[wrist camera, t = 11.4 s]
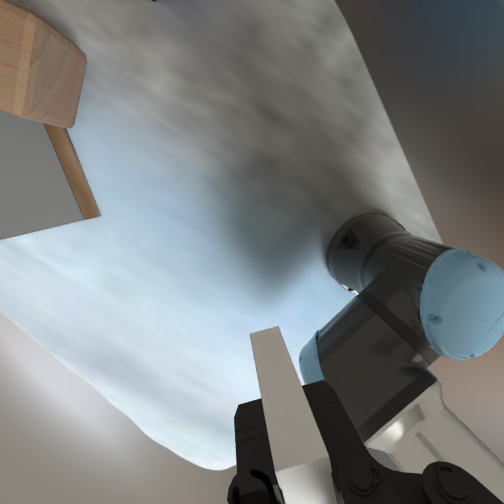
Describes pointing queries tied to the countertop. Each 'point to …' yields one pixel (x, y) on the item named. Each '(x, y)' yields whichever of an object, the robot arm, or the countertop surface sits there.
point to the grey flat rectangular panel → (32, 180)
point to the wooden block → (38, 69)
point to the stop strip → (73, 171)
